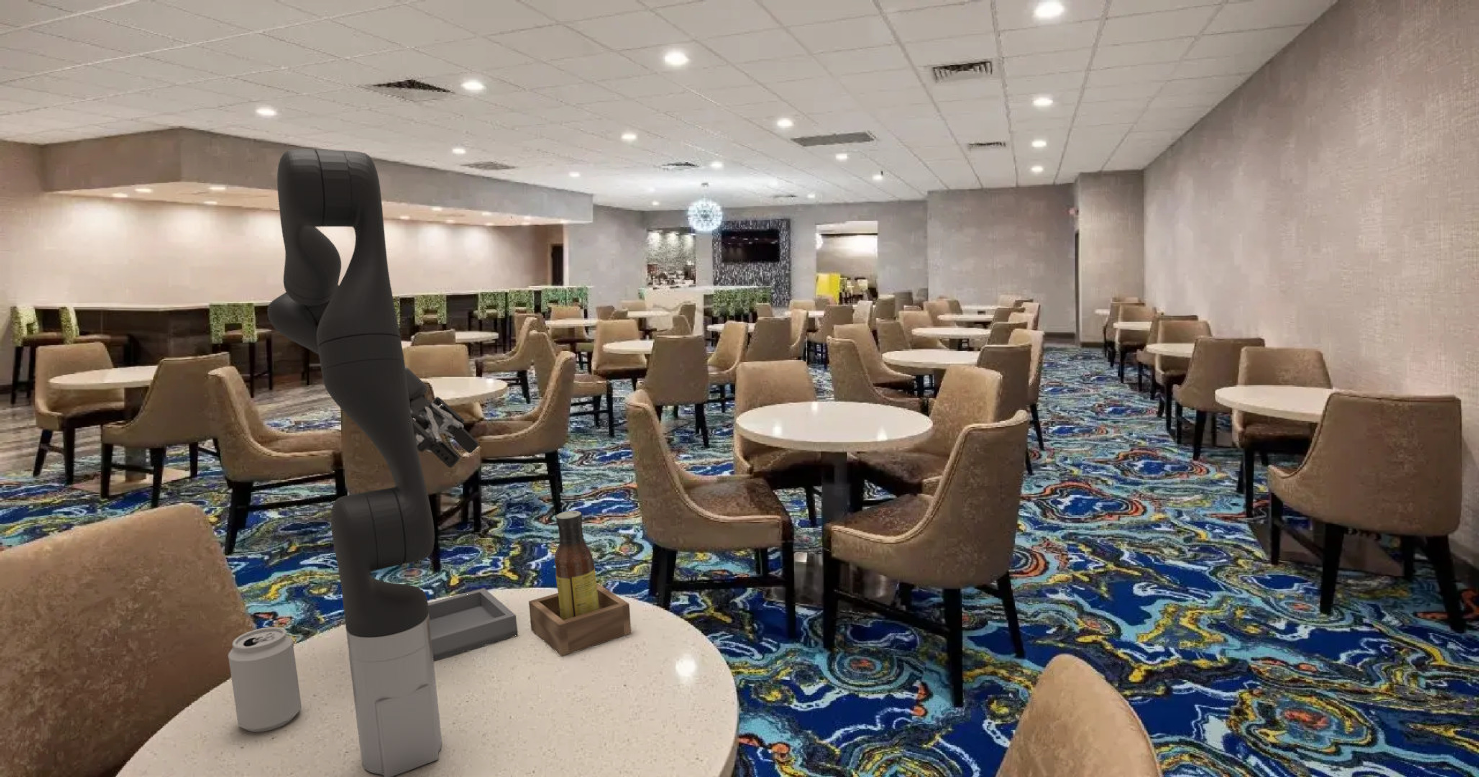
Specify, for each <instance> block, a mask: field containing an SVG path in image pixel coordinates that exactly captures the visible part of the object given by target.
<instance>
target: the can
mask: <svg viewBox="0 0 1479 777" xmlns="http://www.w3.org/2000/svg"><path fill="white" fill-rule="evenodd" d="M293 640H294V639H293V637H291V636H289V635H287V630H286V629H285V628H283V627H278V626H267V627H262V628H258V629H253V630H250V631H248V632H244V633H243V634H240V635H239V636H238V637H237V638H236V637H235V639H234V640H233V641H232V648H231V650H230V651H229V652H228V655H227V656H228V663H229V664H228V665H229V669H230V678H231V683H232V684H231V685H232V692H233V699H234V705H235V711H236V712H235V713H236V719H237V720H236V721H237V725H238V726H239V727H240V728H241V729H245V730H246V731H248V732H254V733H261V732H262V733H263V732H267V731H271V730H274V729H277V728H280V727H282V726H285V725H286V724H288V723H289V722H291V720H293V719H294V717H295V716H296V715H297V713H298V712H300V711H301V708H302V702H301V695H300V686H299V679H298V677H299V676H298V670H297V665H296V664H297V663H296V655H295V648H294V641H293Z"/></svg>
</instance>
